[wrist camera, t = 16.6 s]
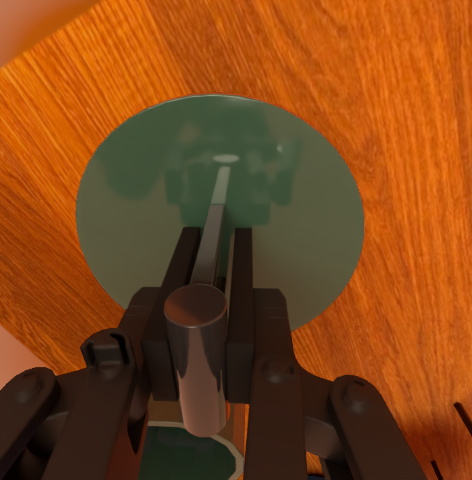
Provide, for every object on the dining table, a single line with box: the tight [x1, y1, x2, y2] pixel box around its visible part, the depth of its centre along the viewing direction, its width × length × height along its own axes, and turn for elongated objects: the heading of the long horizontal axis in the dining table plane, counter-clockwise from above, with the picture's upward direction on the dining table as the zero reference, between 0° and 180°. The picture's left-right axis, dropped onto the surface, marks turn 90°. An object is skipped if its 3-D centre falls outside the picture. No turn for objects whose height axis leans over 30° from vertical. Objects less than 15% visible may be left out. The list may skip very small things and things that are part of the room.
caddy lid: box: [76, 92, 365, 437], centre depth 12 cm, size 14×14×8 cm
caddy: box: [137, 392, 245, 480], centre depth 31 cm, size 12×12×10 cm
